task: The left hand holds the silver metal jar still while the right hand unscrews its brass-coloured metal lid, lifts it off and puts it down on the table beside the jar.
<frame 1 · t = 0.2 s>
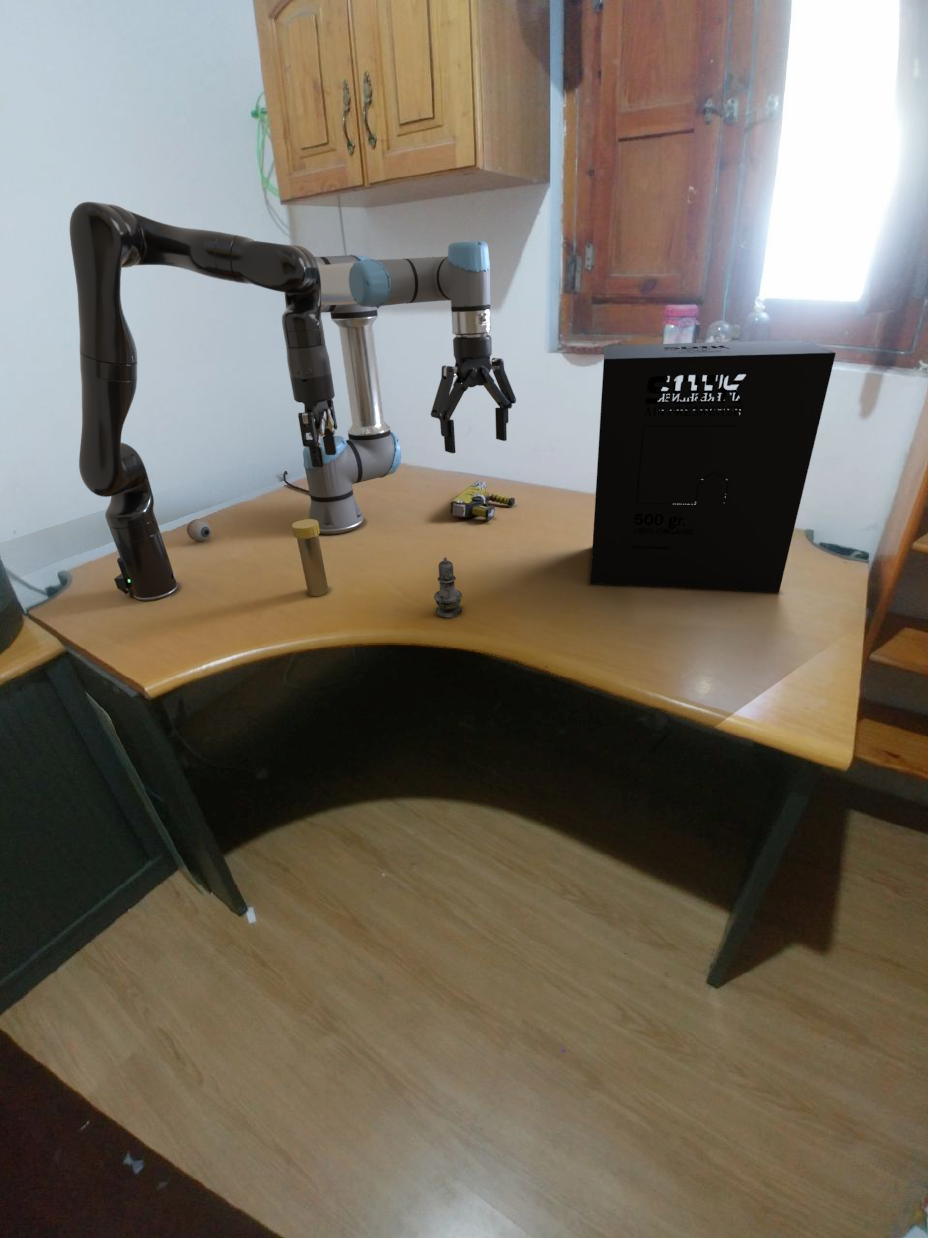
left hand: (325, 460, 119), 29 cm above the table, tool pointing down, fingers open, 8 cm apart
right hand: (476, 445, 127), 28 cm above the table, tool pointing down, fingers open, 13 cm apart
dark grey chess piece: (449, 611, 123), on the table
lid: (305, 525, 126), point 16 cm above the table, screwed on, not yet turned
cardboard box: (677, 568, 135), on the table
toy gun: (487, 508, 175), on the table
eyeball: (202, 541, 164), on the table
jar: (318, 591, 134), on the table
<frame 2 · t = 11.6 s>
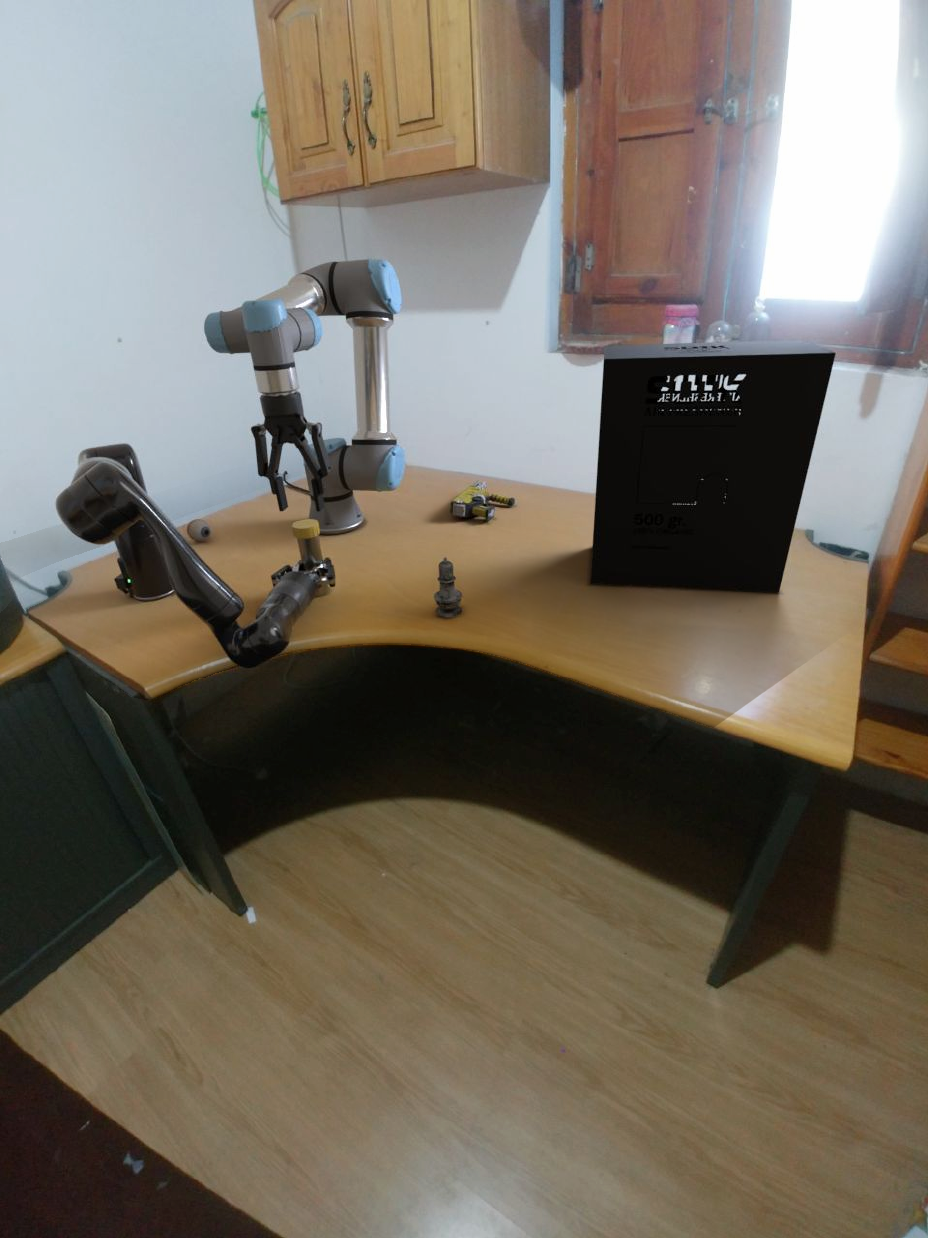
left hand: (317, 561, 133), 6 cm above the table, tool horizontal, fingers closed on jar, 4 cm apart
right hand: (302, 508, 124), 19 cm above the table, tool pointing down, fingers open, 7 cm apart
jar: (318, 591, 134), on the table, touching left hand
everything else where it was.
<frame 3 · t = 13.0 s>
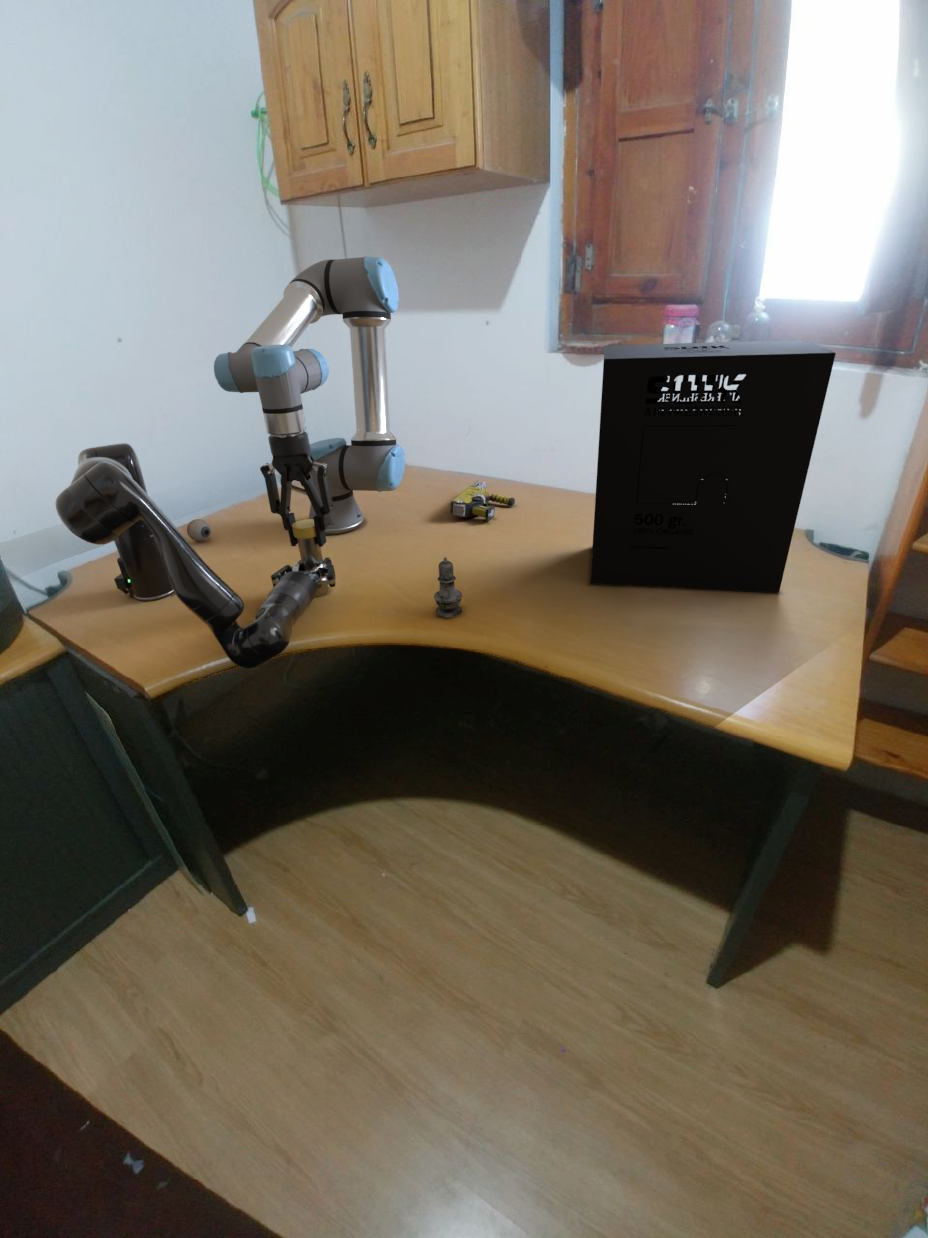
left hand: (317, 561, 133), 6 cm above the table, tool horizontal, fingers closed on jar, 4 cm apart
right hand: (309, 543, 128), 12 cm above the table, tool pointing down, fingers closed on lid, 5 cm apart
lid: (305, 525, 126), point 16 cm above the table, screwed on, not yet turned, touching right hand
jar: (318, 591, 134), on the table, touching left hand
everything else where it was.
when the right hand's fingers open (12 cm above the table, at t = 14.5 s): lid stays where it is, point 16 cm above the table.
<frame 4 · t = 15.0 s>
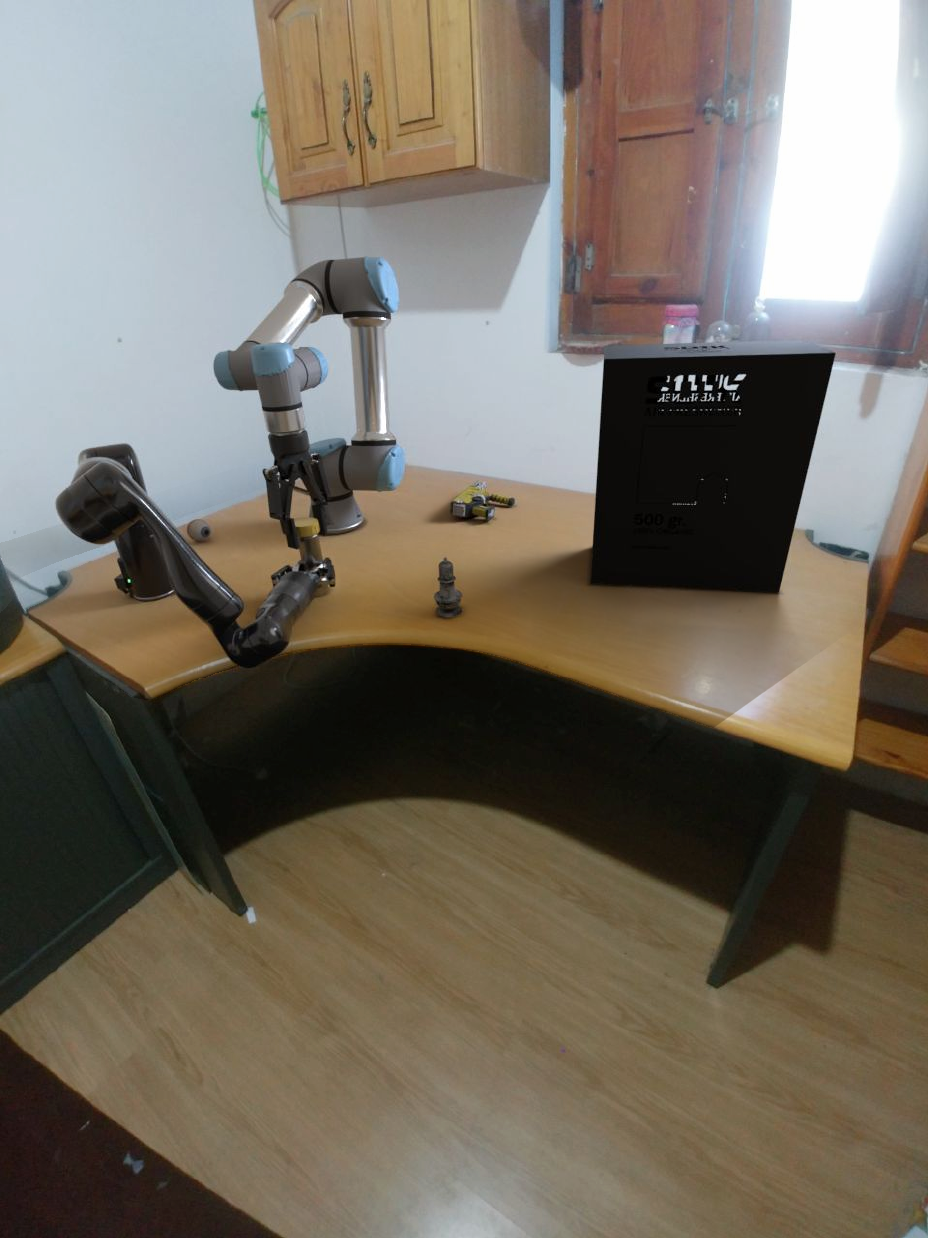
left hand: (317, 561, 133), 6 cm above the table, tool horizontal, fingers closed on jar, 4 cm apart
right hand: (308, 540, 128), 12 cm above the table, tool pointing down, fingers open, 7 cm apart
lid: (305, 523, 126), point 16 cm above the table, turned 105° so far, risen 0.4 cm, still on its thread
jar: (318, 591, 134), on the table, touching left hand
everything else where it was.
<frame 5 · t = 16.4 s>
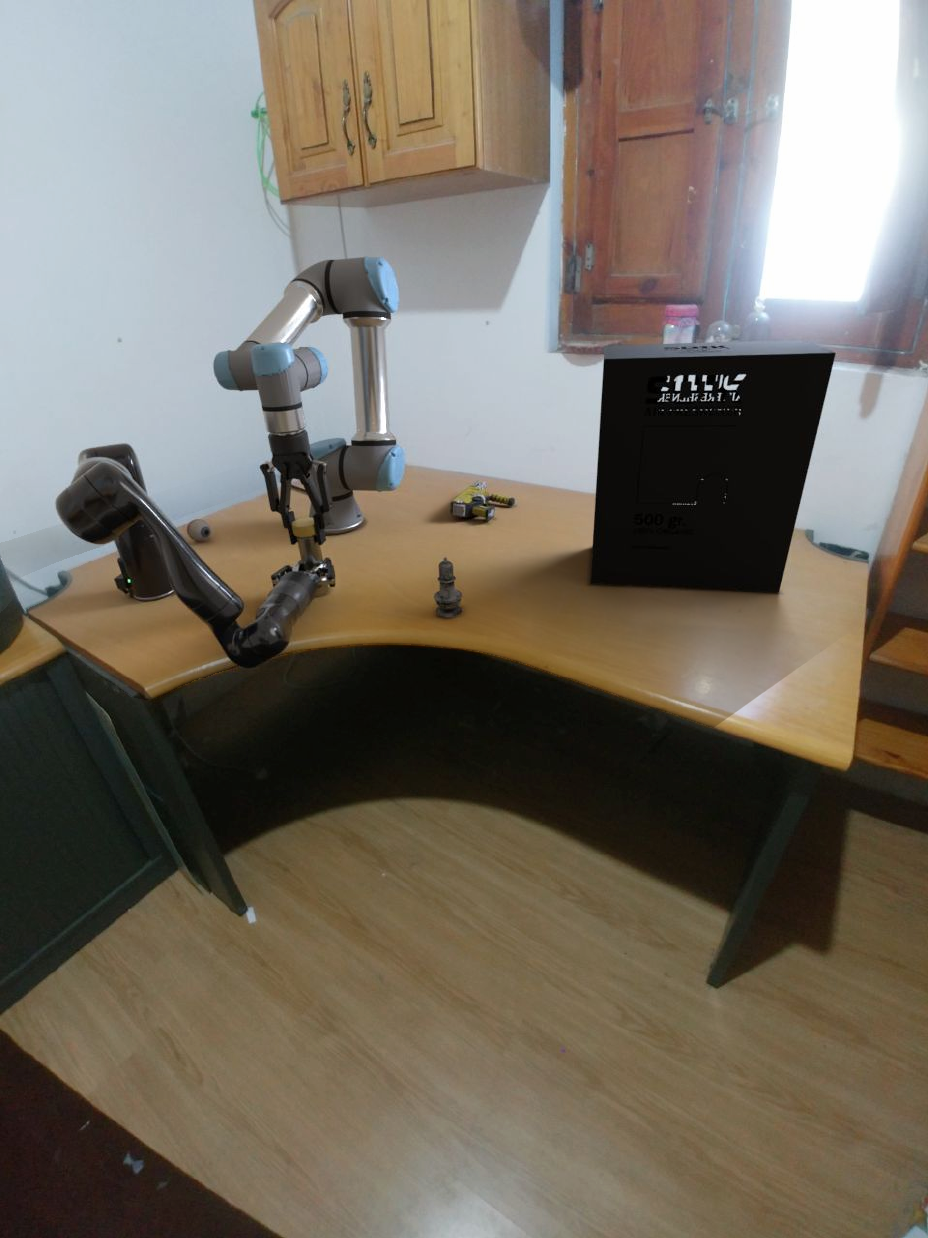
left hand: (317, 561, 133), 6 cm above the table, tool horizontal, fingers closed on jar, 4 cm apart
right hand: (308, 542, 128), 12 cm above the table, tool pointing down, fingers closed on lid, 5 cm apart
lid: (305, 523, 126), point 16 cm above the table, turned 105° so far, risen 0.4 cm, still on its thread, touching right hand
jar: (318, 591, 134), on the table, touching left hand
everything else where it was.
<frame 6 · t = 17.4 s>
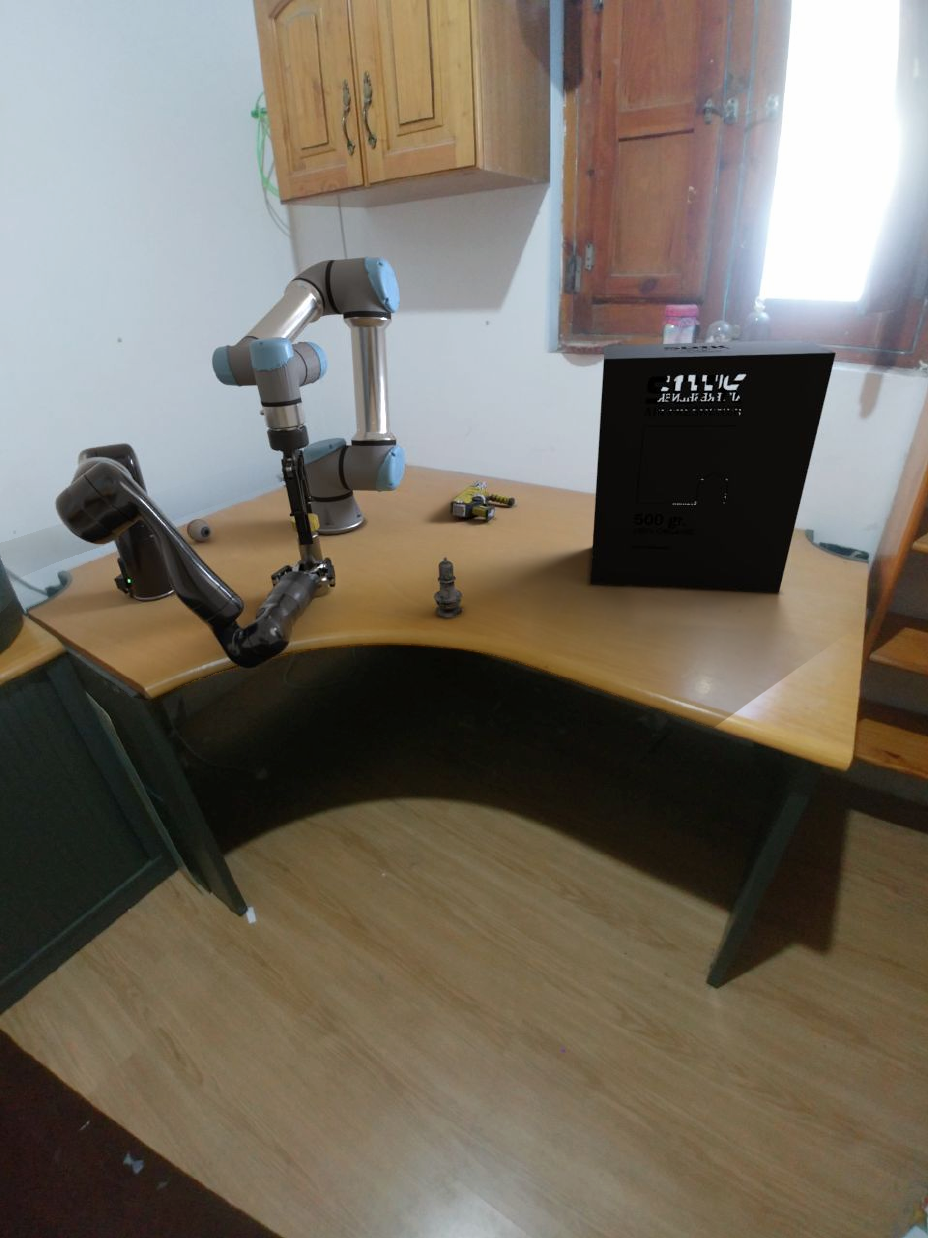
left hand: (317, 561, 133), 6 cm above the table, tool horizontal, fingers closed on jar, 4 cm apart
right hand: (308, 538, 128), 13 cm above the table, tool pointing down, fingers closed on lid, 5 cm apart
lid: (304, 519, 126), point 17 cm above the table, off its thread, touching right hand
jar: (318, 591, 134), on the table, touching left hand
everything else where it was.
when the right hand's fingers open (0 cm above the table, at t = 23.7 s): lid stays where it is, point 2 cm above the table.
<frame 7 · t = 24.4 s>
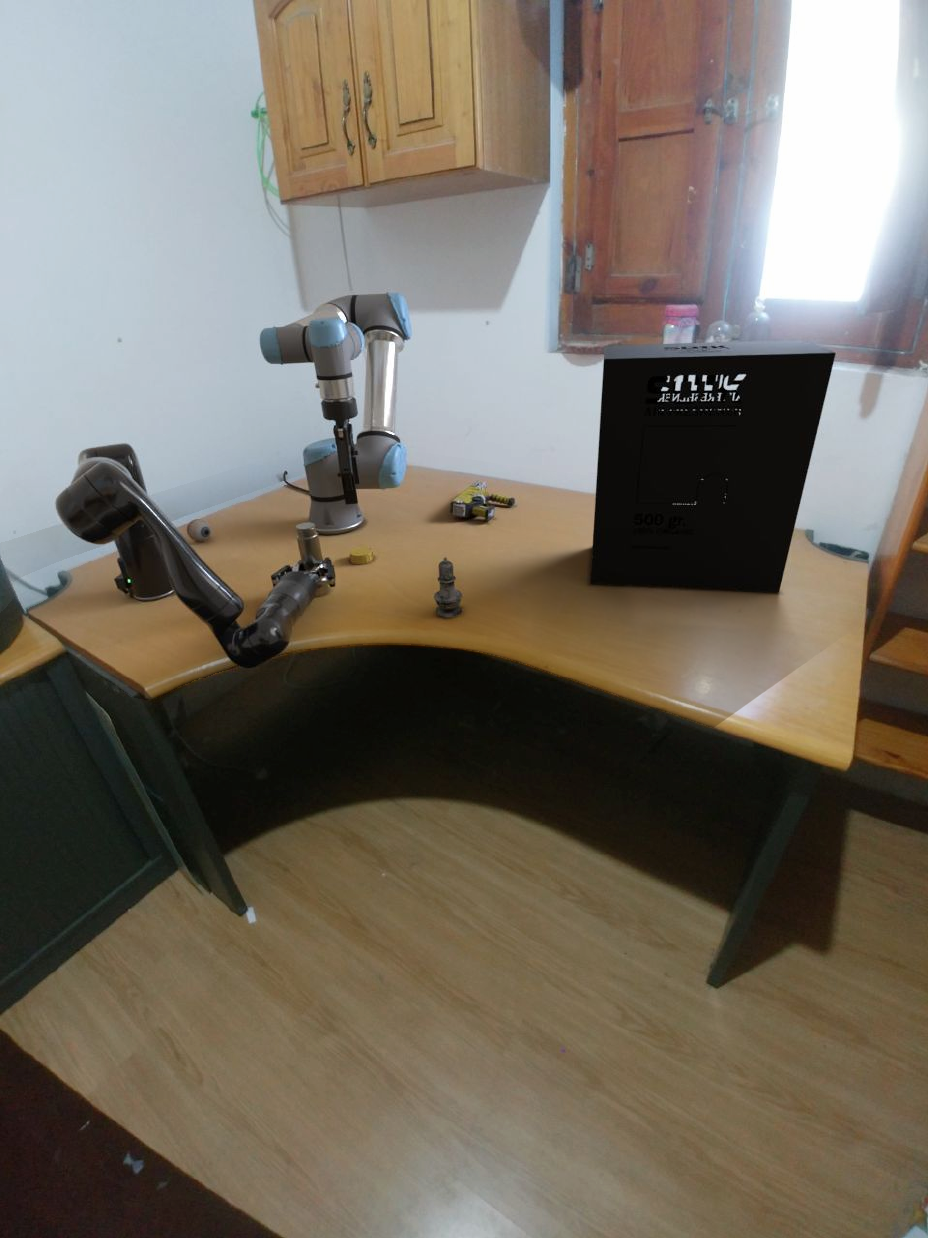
left hand: (317, 561, 133), 6 cm above the table, tool horizontal, fingers closed on jar, 4 cm apart
right hand: (352, 493, 140), 17 cm above the table, tool pointing down, fingers open, 13 cm apart
lid: (360, 552, 147), point 2 cm above the table, off its thread
jar: (318, 591, 134), on the table, touching left hand
everything else where it was.
when the left hand's fingers open (6 cm above the table, at t = 24.4 s): jar stays where it is, on the table.
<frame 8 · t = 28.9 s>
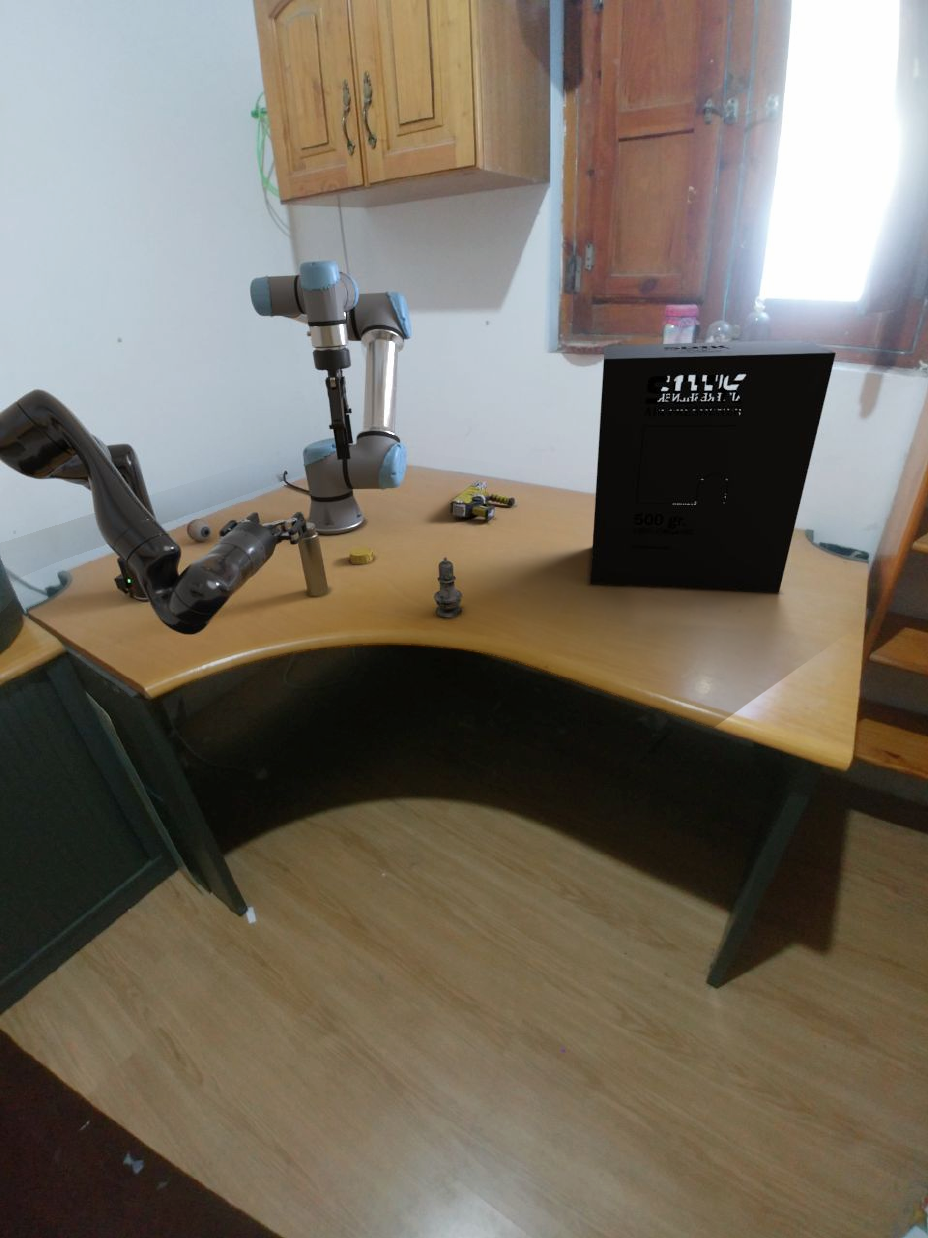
left hand: (278, 516, 113), 22 cm above the table, tool horizontal, fingers open, 8 cm apart
right hand: (345, 451, 135), 26 cm above the table, tool pointing down, fingers open, 13 cm apart
jar: (318, 591, 134), on the table
everything else where it was.
at the end: lid came off its thread; lid point 1.9 cm above the table; the left hand is holding nothing; the right hand is holding nothing; jar tilted 0°; jar moved 0.0 cm from its start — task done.
